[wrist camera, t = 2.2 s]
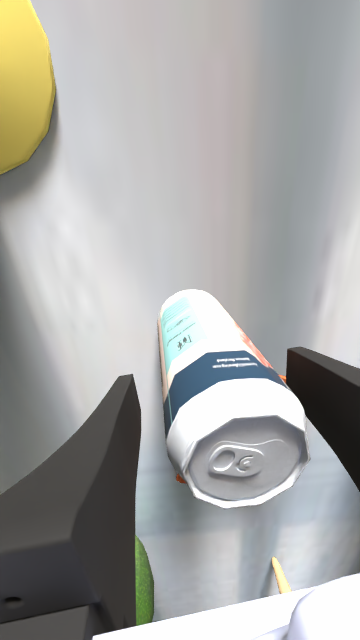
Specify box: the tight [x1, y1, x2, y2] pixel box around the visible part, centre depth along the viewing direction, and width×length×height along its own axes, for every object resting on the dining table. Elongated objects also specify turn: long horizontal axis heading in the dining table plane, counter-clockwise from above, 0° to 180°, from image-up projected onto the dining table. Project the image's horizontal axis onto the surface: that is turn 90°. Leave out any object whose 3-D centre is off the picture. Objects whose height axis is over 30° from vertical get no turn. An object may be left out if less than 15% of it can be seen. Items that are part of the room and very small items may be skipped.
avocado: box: [135, 535, 154, 626], centre depth 21 cm, size 8×8×12 cm
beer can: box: [157, 290, 310, 509], centre depth 13 cm, size 5×5×12 cm
